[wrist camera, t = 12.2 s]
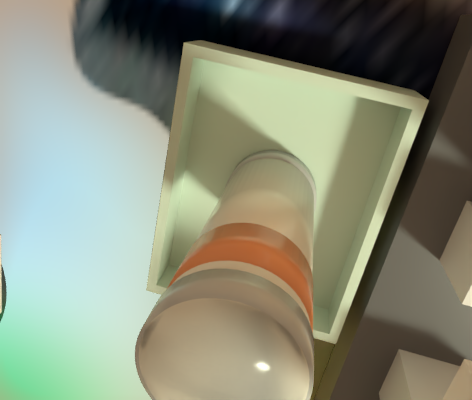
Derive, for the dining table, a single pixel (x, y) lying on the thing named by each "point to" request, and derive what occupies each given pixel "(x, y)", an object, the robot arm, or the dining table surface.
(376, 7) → the dining table surface
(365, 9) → the dining table surface
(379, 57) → the dining table surface
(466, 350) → the block
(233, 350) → the marked fuse
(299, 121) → the tray
